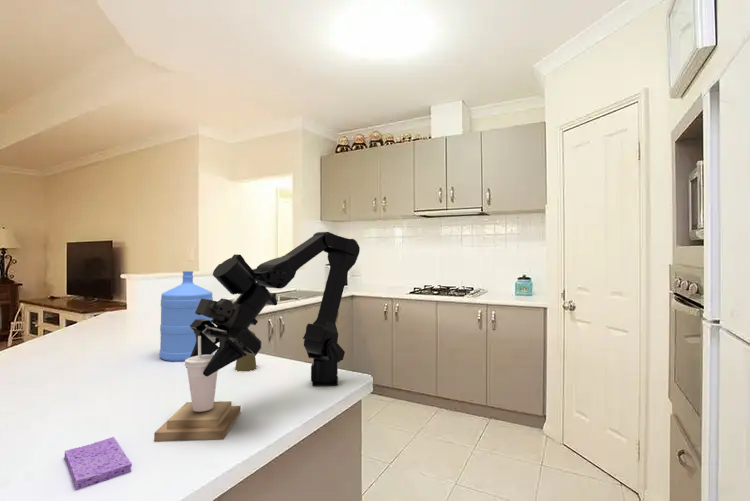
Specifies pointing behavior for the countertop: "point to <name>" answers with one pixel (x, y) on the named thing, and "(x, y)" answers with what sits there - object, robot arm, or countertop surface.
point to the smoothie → (201, 381)
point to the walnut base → (198, 431)
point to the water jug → (180, 318)
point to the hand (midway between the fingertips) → (195, 371)
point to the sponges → (96, 462)
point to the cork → (246, 362)
